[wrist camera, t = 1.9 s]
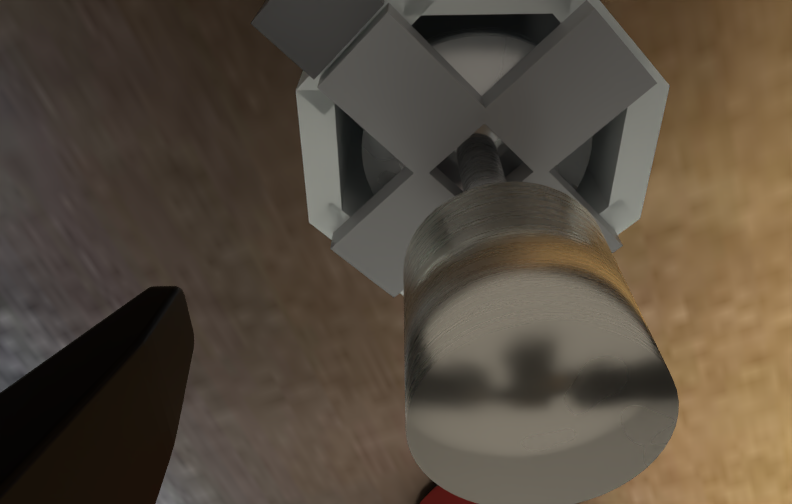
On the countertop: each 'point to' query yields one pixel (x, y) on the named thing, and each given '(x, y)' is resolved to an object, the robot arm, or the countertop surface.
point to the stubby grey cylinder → (520, 323)
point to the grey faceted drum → (460, 112)
